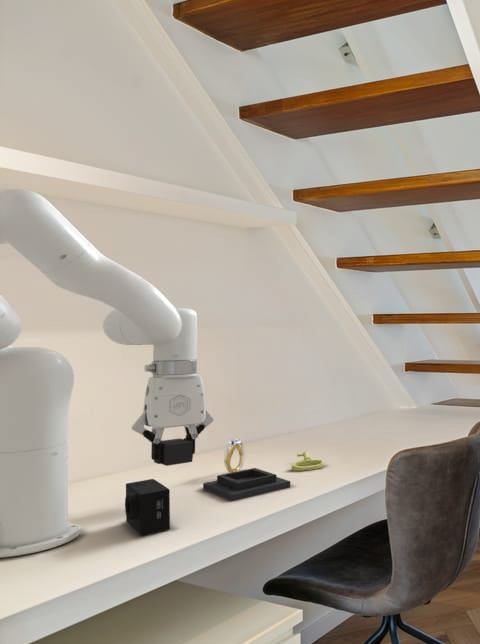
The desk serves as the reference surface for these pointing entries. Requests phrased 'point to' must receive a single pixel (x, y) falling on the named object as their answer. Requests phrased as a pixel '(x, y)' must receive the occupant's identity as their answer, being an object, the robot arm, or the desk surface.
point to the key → (307, 463)
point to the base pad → (245, 484)
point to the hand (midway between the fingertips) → (173, 459)
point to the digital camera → (147, 506)
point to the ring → (229, 454)
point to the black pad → (177, 451)
